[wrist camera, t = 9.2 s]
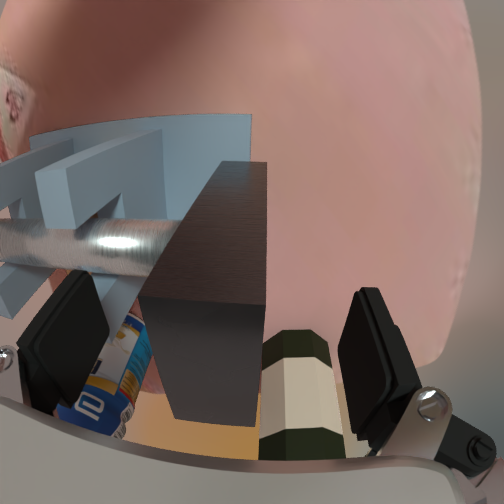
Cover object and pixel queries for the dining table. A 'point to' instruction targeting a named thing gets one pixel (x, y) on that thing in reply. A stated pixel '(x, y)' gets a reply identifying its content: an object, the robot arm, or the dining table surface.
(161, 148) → the bearing block
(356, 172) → the dining table surface
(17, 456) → the robot arm
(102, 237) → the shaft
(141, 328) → the beverage bottle
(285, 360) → the wine bottle
